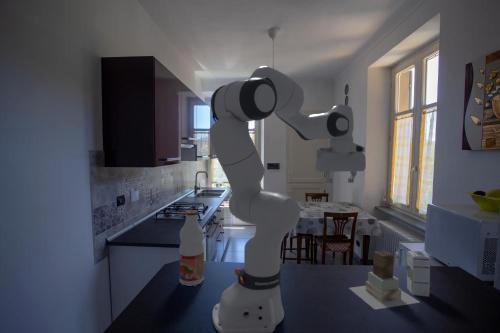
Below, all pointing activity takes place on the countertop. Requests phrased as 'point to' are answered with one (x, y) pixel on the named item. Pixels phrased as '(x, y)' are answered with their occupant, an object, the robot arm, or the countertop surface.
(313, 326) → the countertop surface
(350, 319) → the countertop surface
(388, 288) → the tower top
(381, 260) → the walnut block
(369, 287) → the tower base
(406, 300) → the mat
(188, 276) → the fruit juice
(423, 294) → the syrup box
